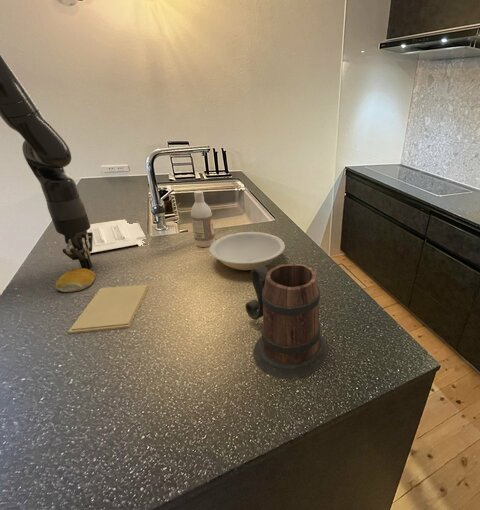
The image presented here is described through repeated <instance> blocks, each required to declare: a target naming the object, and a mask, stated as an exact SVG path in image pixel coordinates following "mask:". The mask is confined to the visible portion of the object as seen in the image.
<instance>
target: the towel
mask: <svg viewBox="0 0 480 510" xmlns="http://www.w3.org/2000/svg"><path fill="white" fill-rule="evenodd" d="M149 289H150V284H138V285H124V286H123V285H122V286H109V287H101V288H99V290H98V291H97V292H96V293H95V295H94V296H93V298H92V299H91V300H90V302H89V303H88V304H87V305H86V306H85V308H84V310H83V311H82V312H81V313H80V315H79V316H78V318H77V319H76V320H75V322H74V323H73V325H71V327H70V328H69V329H68V331H67V334H68V335H72V334H82V333H93V332H100V331H111V330H112V331H113V330H120V329H121V330H122V329H129V328H130V326H131V325H132V323H133V321H134V319H135V316H136V315H137V313H138V310H139V308H140V307H141V305H142V303H143V302H144V301H143V300H144V298H145V297H146V295H147V293H148V291H149Z"/></svg>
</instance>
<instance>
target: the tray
mask: <svg viewBox="0 0 480 510" xmlns="http://www.w3.org/2000/svg"><path fill="white" fill-rule="evenodd" d="M127 221H128V220H127V219H118V220H111V221H104V222H96V223H90V228H89V229H88V230H87V232H92V233H93V241H92V252H90V254H91V253H97V252H98V253H99V252H103V251H109V250H113V249H119V248H125V247H129V246H136V245H138V247H143V246H145V245H143V243H145V242H144V241H142V240H143V239H147V237H146V235H145V233H144V231H143V229H142V227H141V224H140V222H139V221H137V223H133V224H129V223H127ZM142 242H143V243H142ZM141 245H142V246H141ZM148 245H149V246H150V243H149V244H148ZM148 245H147V246H148Z"/></svg>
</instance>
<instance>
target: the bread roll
mask: <svg viewBox="0 0 480 510" xmlns="http://www.w3.org/2000/svg"><path fill="white" fill-rule="evenodd" d="M95 279H96V274H95V272H94V271H92V270H91V269H89V270H88V269H84V268H73V269H70V270H68V271H66V272H64V273H63V274H61V275H60V276H59V278H58V279H57V281H56V282H55V288H56V290H57V291H59V292H62V293H72V292H79V291H82V290H85V289H87V288H88V287H90V286H91V285H92V284H93V282H94V281H95Z"/></svg>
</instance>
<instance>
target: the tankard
mask: <svg viewBox="0 0 480 510" xmlns="http://www.w3.org/2000/svg"><path fill="white" fill-rule="evenodd" d="M315 271H316V270H315V269H314V268H312V267H310V266H309V265H307V264H302V263H285V264H284V263H283V264H279V265H276V266H274V267H272V268H270V269H269V268H267V267H266V266H262V265H260V266H258V267H256V268H253V269H252V270H250V279H251V283H252V285H253V289H254V291H255V293H256V299H252V300H250V301H247V302H246V304H245V311H246V313H247V315H248V316H249V318H250V319H251V320H255V321H257V320H259V319H260V318H262V321H263V322H262V325H261V336H260V337H259V338H258V340H256V341H257V342H256V343H255V345H254V346H253V347H254V348H253V359H254V362H255V364H256V366H257V367H258V368H259V369H260V370H261V371H262V372H264V373H265V374H266V375H269V376H271V377H274V378H277V379H285V380H286V379H290V380H291V379H299V378H302V377H306V376H308V375H310V374H312V373H314V372H315V371H318V369H320V368H321V366H322V365H323V364H324V363H325V360H326V359H327V356H328V348H329V347H328V344H327V342H326V340H325V338H324V336H322V334H321V325H320V301H321V289H320V287H319V284H318V279H317V273H316V272H315Z"/></svg>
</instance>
